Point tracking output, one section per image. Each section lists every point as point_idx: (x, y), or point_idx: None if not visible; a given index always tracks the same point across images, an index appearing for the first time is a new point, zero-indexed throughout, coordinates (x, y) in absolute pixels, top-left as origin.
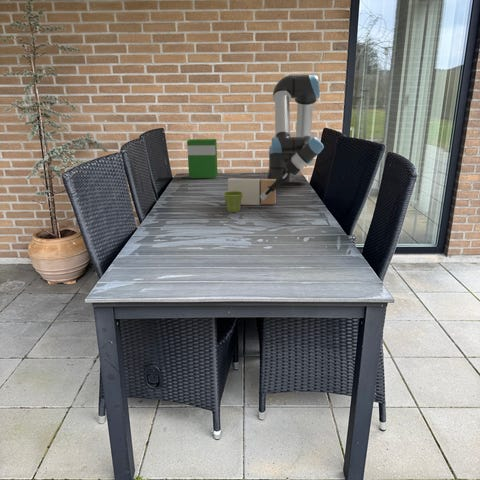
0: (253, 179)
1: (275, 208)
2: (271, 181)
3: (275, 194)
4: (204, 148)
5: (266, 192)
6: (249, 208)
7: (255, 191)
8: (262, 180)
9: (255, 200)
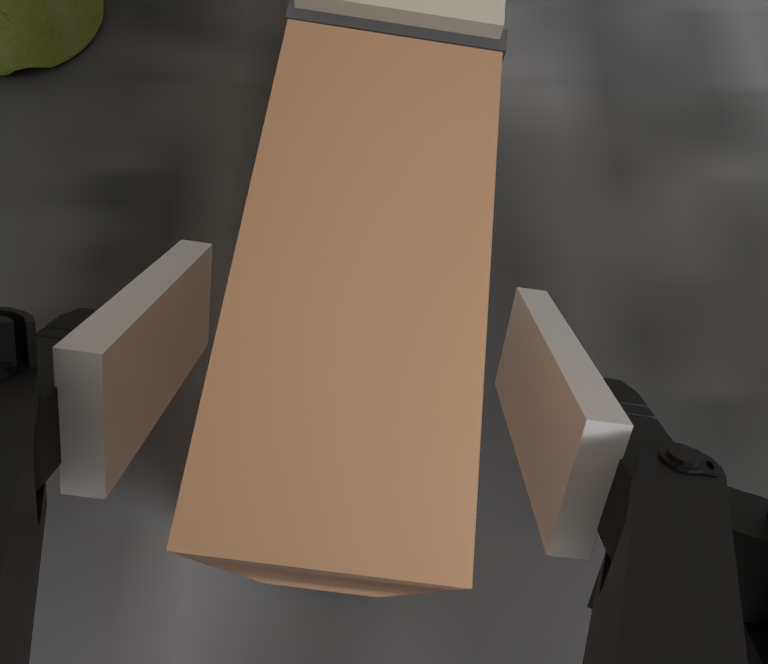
0: None
1: (46, 592)
2: (216, 393)
3: (369, 592)
4: None
5: (47, 335)
6: (119, 189)
7: None
8: (279, 71)
9: None
